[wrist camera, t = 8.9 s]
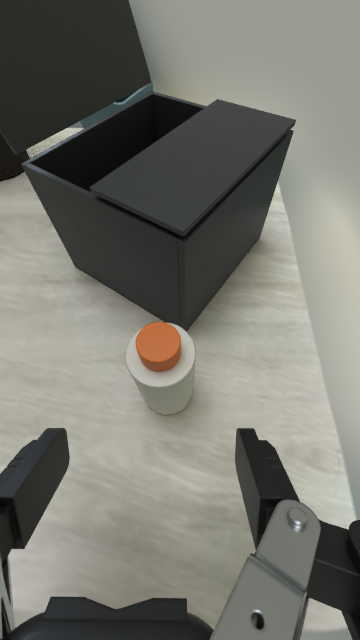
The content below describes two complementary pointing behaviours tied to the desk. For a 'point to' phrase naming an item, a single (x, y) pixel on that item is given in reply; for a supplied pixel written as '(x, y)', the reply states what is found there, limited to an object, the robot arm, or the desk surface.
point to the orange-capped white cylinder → (162, 366)
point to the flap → (64, 64)
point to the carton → (164, 197)
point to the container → (10, 160)
